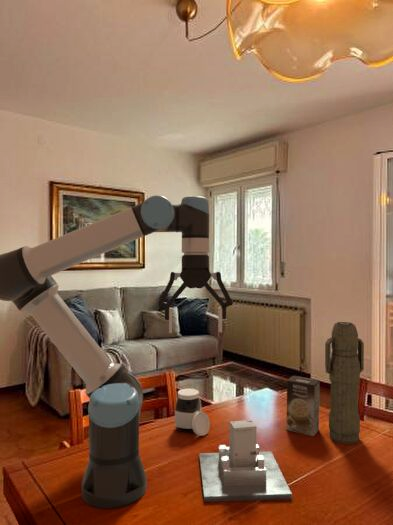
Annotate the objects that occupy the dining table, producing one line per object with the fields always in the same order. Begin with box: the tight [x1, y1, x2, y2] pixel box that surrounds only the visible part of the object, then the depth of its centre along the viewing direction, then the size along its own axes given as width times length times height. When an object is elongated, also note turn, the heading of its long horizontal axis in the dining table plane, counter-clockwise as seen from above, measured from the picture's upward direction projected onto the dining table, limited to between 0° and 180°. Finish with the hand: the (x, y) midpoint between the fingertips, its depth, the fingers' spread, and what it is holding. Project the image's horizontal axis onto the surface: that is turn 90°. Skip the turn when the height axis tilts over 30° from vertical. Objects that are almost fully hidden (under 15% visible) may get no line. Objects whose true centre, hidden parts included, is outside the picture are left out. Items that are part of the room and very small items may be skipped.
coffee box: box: [285, 375, 321, 437], centre depth 128 cm, size 9×6×16 cm
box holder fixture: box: [198, 443, 293, 503], centre depth 101 cm, size 20×20×6 cm
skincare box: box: [228, 420, 257, 468], centre depth 101 cm, size 6×4×12 cm
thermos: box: [324, 321, 365, 445], centre depth 123 cm, size 9×12×35 cm
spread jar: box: [174, 388, 211, 437], centre depth 129 cm, size 12×11×12 cm
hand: (195, 331), depth 110 cm, fingers open, 13 cm apart
